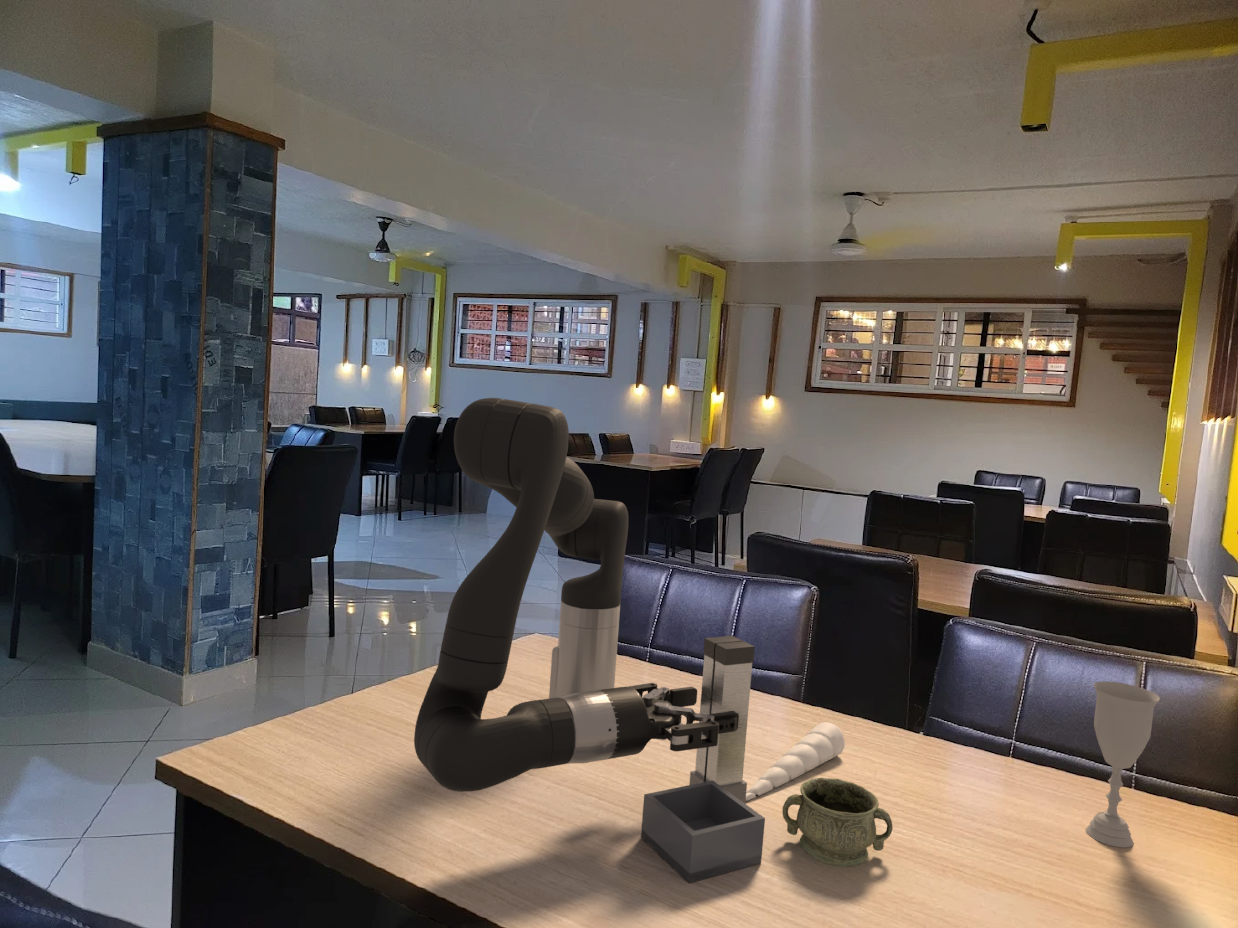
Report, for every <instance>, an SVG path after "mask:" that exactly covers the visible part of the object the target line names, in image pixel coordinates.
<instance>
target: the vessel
mask: <svg viewBox="0 0 1238 928" xmlns="http://www.w3.org/2000/svg"><path fill="white" fill-rule="evenodd" d="M799 791H800V794H796V793H794V794H791V795H789V796H788V797H787V798H786V799H785V801H784V804H783V805H782V810H781V811H782V817H783V820H784V821H785V823H786V825H787V826H786V827H787V828H786V830H787V833H788V834H790V835H793V836H795V835H797V834H798V833H799V832H798V830H800V832H801V833H802V834H801V836H800V838H799V845H800V847H801V848H802V849H803V851H804V852H805V853H806V854H808V855H810V856H811V857H812V858H813V859H815V860H817V861H819V862H821V863H824V864H828V865H832V866H836V867H854V866H859V865H861V864H862V863H864V862H866V861H867V859H868V857H869V851H868V849H867V848H869V847H871V846H872V848H873V850H874V851H878V852H879V851H882V850H883V849H884V843H885V841H886V840H887V839H889V837H890V836H891V834H892V831H893V822H892V818H891V816H890V814H889V812H887V811H886V810H885V809H884V808H881V807H879V806H880V802H879V800H878V799H879V798H878V797H876V795H875V794H874V793H872V792H871V791H869V790H868V789H867V788H865V787H863V786H861V785H859V784H857V783H854V782H851V781H848V780H843V779H839V778H830V777H829V778H828V777H815V778H810V779H809V780H806V781H804V782H803V783H801V786H800V788H799ZM793 805H794V806H799V808H798V811H797V812H796V813H797V814H796V819H794V818H792V817H790V816H789V815H790V814H789V809H790V807H791V806H793ZM875 819H878V820H881V821H884V822H885V824H886V830H885V832H883V833H881V834H877V825H876V821H875Z"/></svg>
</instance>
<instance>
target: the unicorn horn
mask: <svg viewBox="0 0 1238 928" xmlns="http://www.w3.org/2000/svg"><path fill="white" fill-rule="evenodd" d="M845 742H846V741H845V737H844V733H843V732H842V731H841V729H840V727H838V726H837V725H835V724H834V723H831V722H820V723H818V724H817V725H815V726H814V727H812V729H811V730H809V732H807V733H806V734H805V735H804V736H803V737H802V738H801V739H799V741H798V742H796V743H795V744H793V746H792V747H791V748H790V749H788V751H786V752H785V753H784V754H783V755H782V756H781V757H780V758H779V759H778V760H776V761H775V763H774V764H773V765H771V766H770V767H769V769H767V770H766V771H765V772H764V773H763V774H762V775H761V776H760V777H759V778H758V779H757V780H756V781H755V782H754V783H753V784H752V785H751V786H750V788H748V789H747V790H746V802H748V801H750V800H753V799H755V798H757V797H756V795H757V796H758V797H761V795H764V794H765V793H766V794H767V793H768V792H771V791H773V789H776V788H778V787H780V786H783V785H784V784H786V783H788V782H790V781H792V780H794V779H796V778H798V777H800V776H801V775H802V776H803V774H805V773H808V772H809V771H811V770H813V769H815V768H817V767H818V766H820V765H822V764H824V763H826V762H828V761H829V760H832V759H833V758H836V757H837V756H839V755H841V754H842V753H843V751H844V749H845V745H846V744H845Z"/></svg>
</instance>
